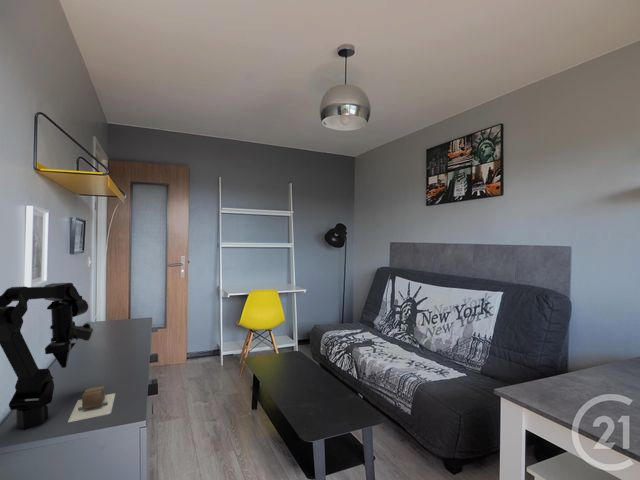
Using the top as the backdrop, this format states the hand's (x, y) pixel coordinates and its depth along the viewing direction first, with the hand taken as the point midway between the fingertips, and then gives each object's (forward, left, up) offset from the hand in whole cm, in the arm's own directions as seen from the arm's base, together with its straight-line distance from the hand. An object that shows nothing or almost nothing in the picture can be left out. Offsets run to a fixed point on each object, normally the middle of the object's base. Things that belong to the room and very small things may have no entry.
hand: (64, 367), depth 123 cm
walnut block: (-3, -15, -8) cm, 18 cm away
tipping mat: (-1, -14, -12) cm, 18 cm away
